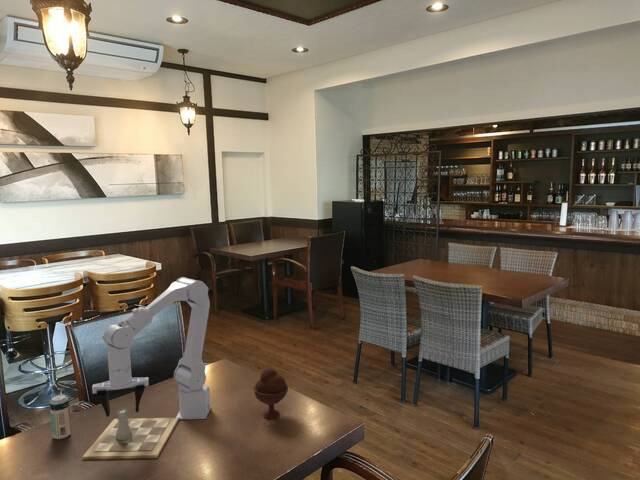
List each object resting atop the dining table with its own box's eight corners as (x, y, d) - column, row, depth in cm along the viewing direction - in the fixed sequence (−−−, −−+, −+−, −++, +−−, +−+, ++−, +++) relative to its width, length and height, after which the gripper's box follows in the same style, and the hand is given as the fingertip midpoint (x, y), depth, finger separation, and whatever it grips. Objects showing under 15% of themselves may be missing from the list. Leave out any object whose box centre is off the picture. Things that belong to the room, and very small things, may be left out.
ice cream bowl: (247, 420, 142) (246, 374, 140) (265, 404, 152) (264, 361, 150) (278, 426, 138) (277, 379, 136) (293, 410, 148) (293, 366, 146)
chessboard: (178, 420, 142) (178, 417, 142) (157, 457, 123) (157, 454, 122) (114, 421, 142) (114, 418, 142) (82, 459, 122) (82, 455, 122)
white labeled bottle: (74, 432, 136) (71, 393, 135) (64, 440, 131) (61, 401, 130) (59, 431, 136) (56, 393, 135) (48, 440, 132) (45, 400, 130)
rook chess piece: (134, 432, 134) (132, 406, 133) (129, 440, 129) (128, 413, 128) (118, 433, 133) (116, 407, 132) (113, 441, 129) (111, 414, 128)
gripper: (148, 358, 134) (150, 402, 135) (93, 365, 129) (97, 410, 131) (146, 367, 127) (149, 413, 129) (89, 374, 123) (93, 422, 124)
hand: (122, 412), depth 129 cm, fingers open, 7 cm apart
